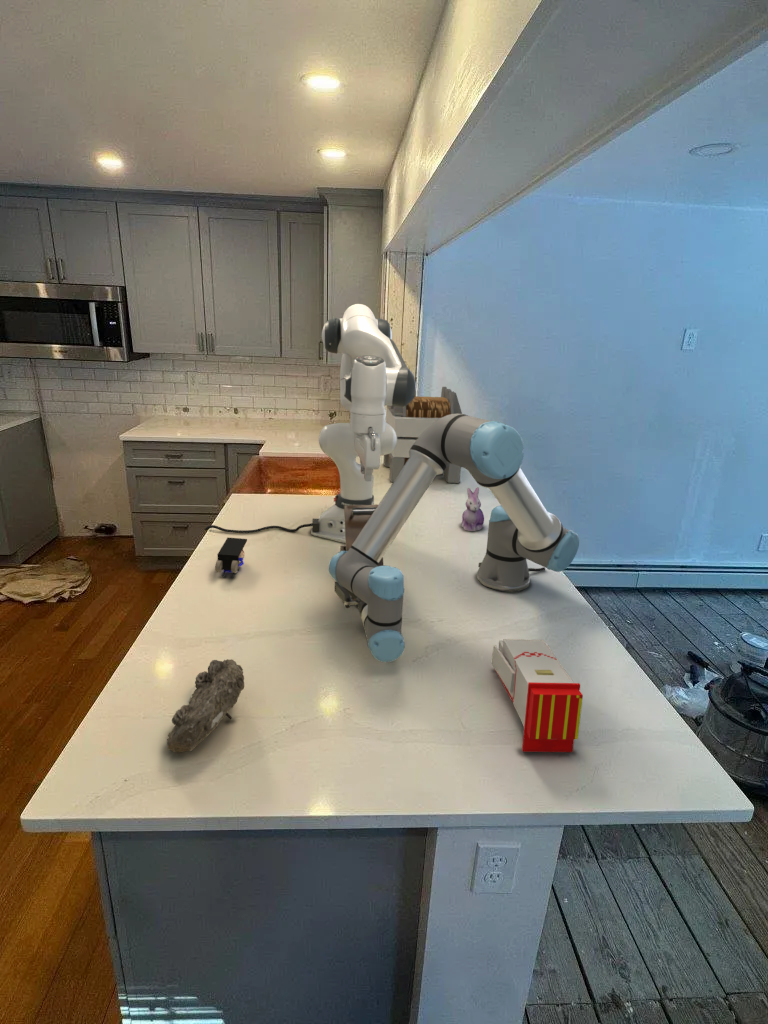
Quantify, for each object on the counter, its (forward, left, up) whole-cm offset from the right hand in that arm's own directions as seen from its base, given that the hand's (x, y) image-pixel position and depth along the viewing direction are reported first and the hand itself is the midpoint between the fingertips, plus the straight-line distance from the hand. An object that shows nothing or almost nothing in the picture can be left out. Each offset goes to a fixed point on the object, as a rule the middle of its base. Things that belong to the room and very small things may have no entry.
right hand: (363, 572), depth 154 cm
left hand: (0, -1, +27) cm, 27 cm away
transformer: (-45, -119, -7) cm, 128 cm away
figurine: (-48, -47, -7) cm, 67 cm away
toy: (-27, +50, -7) cm, 57 cm away
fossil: (+35, +46, -7) cm, 58 cm away
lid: (0, -2, +10) cm, 10 cm away
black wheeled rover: (+36, -19, -7) cm, 41 cm away
